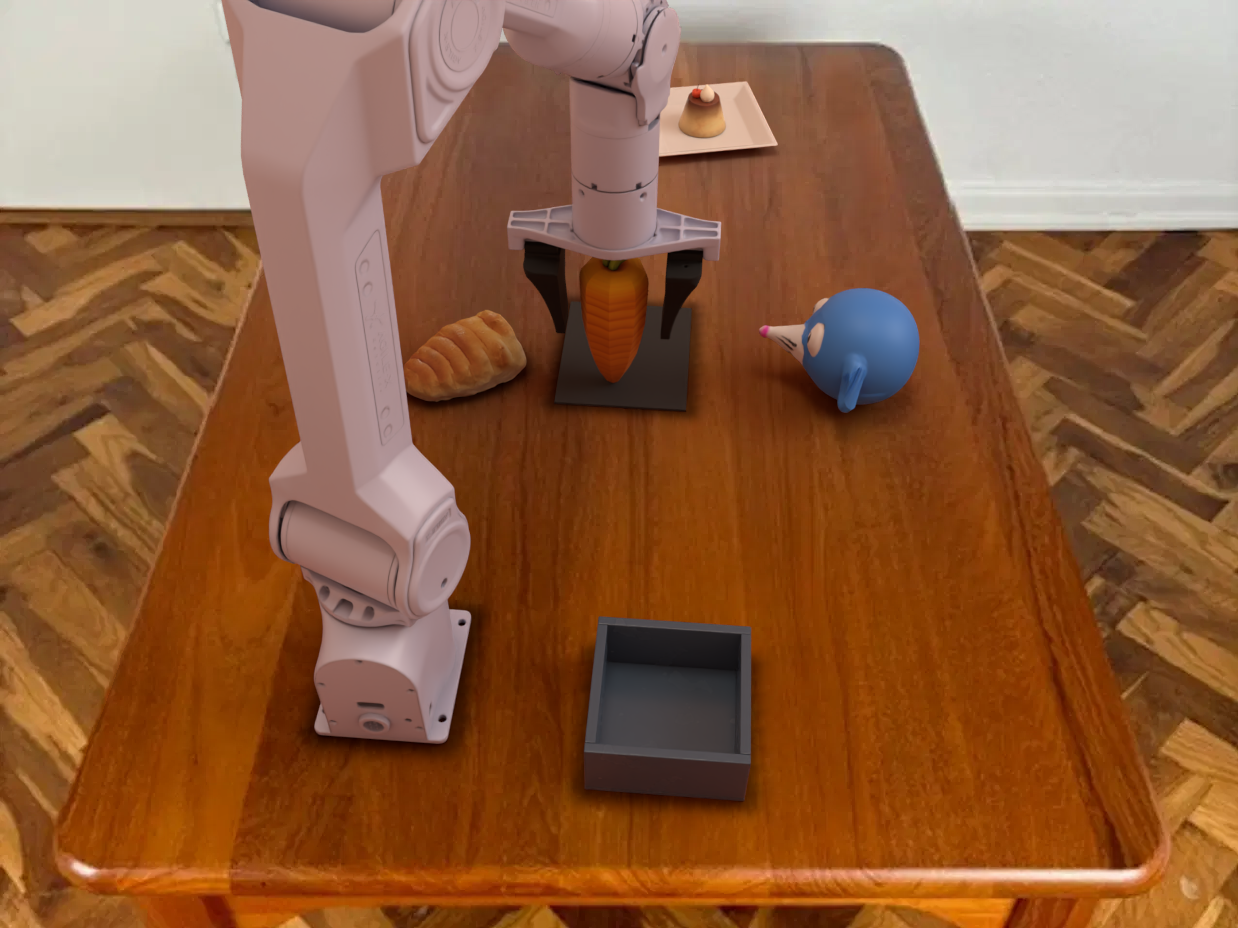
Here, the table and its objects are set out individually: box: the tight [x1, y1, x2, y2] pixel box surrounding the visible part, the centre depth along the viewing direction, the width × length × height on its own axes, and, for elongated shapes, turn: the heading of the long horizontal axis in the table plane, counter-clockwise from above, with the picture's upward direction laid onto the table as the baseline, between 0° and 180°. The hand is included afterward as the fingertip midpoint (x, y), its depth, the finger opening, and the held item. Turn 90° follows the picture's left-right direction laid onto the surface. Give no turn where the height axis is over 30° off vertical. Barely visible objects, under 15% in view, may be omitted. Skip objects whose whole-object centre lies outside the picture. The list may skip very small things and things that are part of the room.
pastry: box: [403, 309, 527, 403], centre depth 92 cm, size 9×7×4 cm
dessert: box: [659, 80, 779, 158], centre depth 116 cm, size 12×12×5 cm
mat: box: [553, 300, 693, 412], centre depth 94 cm, size 12×10×1 cm
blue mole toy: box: [758, 287, 920, 414], centre depth 89 cm, size 12×12×8 cm
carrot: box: [578, 257, 650, 383], centre depth 87 cm, size 5×5×15 cm
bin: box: [583, 615, 752, 802], centre depth 70 cm, size 9×9×4 cm
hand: (613, 327), depth 88 cm, fingers open, 7 cm apart
